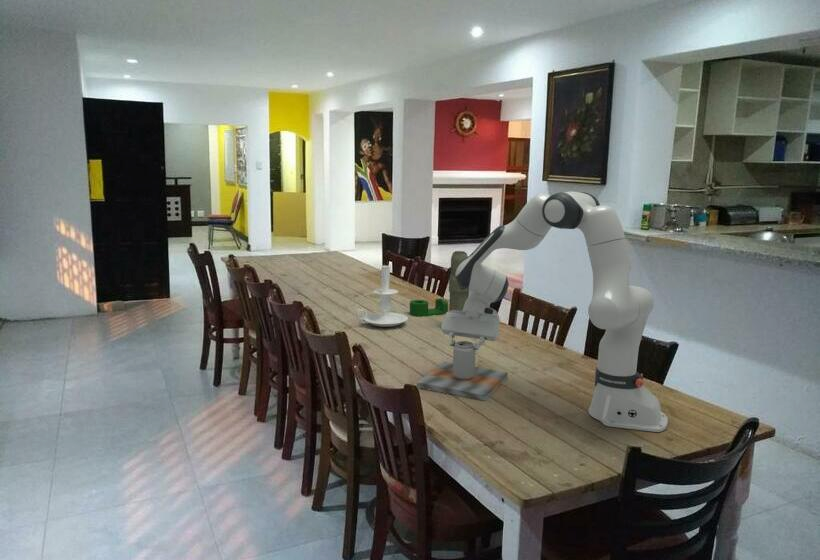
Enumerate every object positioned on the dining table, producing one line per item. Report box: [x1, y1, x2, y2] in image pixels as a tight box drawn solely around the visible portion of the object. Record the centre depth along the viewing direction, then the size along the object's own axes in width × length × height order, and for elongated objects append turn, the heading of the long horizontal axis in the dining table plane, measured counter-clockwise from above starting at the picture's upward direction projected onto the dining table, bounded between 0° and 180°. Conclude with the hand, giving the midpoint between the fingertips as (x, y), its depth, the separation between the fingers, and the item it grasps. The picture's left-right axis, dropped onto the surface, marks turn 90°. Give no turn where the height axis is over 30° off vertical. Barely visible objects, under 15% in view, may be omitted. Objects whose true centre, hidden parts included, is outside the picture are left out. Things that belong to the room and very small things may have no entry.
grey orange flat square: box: [416, 361, 509, 402], centre depth 212 cm, size 24×24×2 cm
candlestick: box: [356, 264, 409, 328], centre depth 280 cm, size 21×25×28 cm
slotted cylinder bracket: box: [409, 298, 449, 318], centre depth 304 cm, size 18×9×6 cm, turn 113°
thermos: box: [448, 250, 469, 311], centre depth 275 cm, size 9×12×35 cm
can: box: [452, 340, 477, 380], centre depth 211 cm, size 8×8×12 cm
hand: (463, 347), depth 209 cm, fingers closed on can, 7 cm apart
